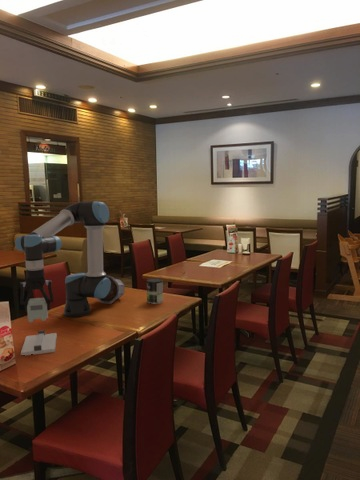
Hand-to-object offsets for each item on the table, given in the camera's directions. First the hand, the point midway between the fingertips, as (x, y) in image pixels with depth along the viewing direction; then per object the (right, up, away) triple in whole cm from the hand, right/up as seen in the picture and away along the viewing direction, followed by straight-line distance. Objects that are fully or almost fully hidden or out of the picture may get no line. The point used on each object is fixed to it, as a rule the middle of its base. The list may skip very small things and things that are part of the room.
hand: (38, 317), depth 178 cm
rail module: (0, 0, 0) cm, 1 cm away
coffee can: (+49, -4, +69) cm, 85 cm away
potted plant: (+18, -4, +66) cm, 69 cm away
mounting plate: (0, -13, +2) cm, 13 cm away
